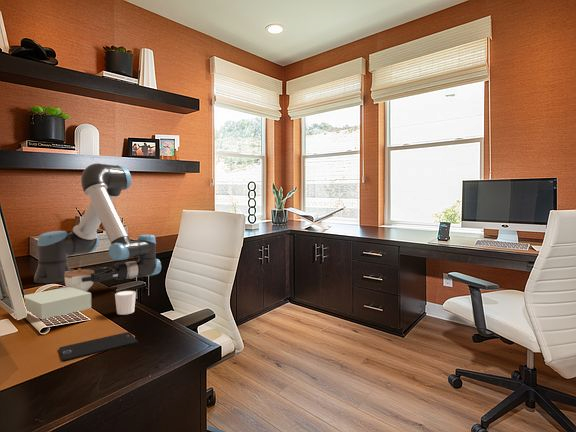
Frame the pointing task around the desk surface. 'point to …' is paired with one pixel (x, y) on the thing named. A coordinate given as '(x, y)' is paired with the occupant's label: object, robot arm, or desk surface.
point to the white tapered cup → (125, 302)
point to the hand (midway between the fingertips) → (68, 277)
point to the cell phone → (96, 346)
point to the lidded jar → (79, 272)
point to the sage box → (57, 302)
